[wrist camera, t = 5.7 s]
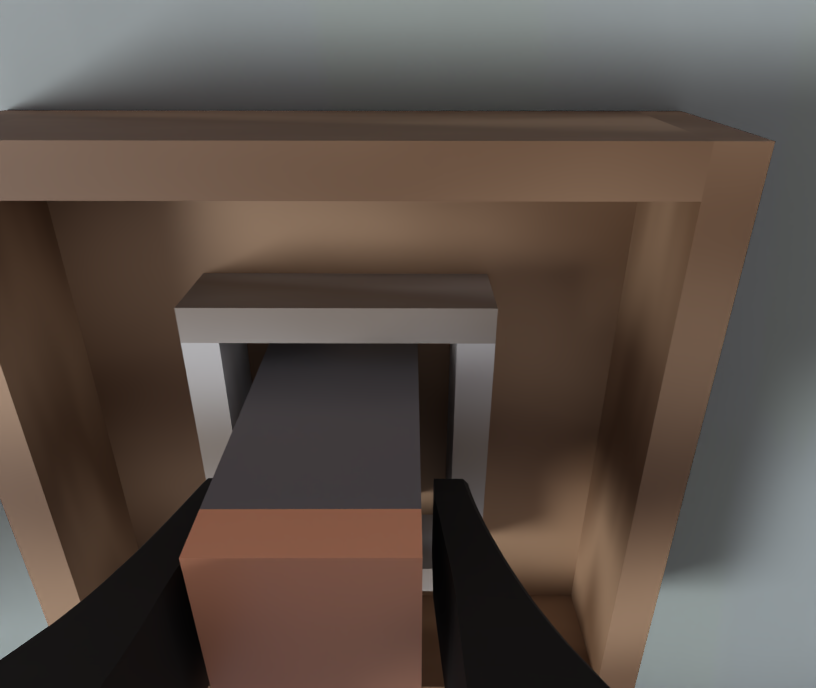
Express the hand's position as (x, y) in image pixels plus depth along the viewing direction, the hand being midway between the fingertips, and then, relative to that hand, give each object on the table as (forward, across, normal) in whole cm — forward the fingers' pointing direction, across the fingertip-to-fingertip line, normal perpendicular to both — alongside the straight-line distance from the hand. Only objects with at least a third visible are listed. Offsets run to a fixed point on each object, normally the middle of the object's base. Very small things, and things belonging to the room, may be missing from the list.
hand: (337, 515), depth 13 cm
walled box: (+5, 0, 0) cm, 5 cm away
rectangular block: (+4, 0, 0) cm, 4 cm away
